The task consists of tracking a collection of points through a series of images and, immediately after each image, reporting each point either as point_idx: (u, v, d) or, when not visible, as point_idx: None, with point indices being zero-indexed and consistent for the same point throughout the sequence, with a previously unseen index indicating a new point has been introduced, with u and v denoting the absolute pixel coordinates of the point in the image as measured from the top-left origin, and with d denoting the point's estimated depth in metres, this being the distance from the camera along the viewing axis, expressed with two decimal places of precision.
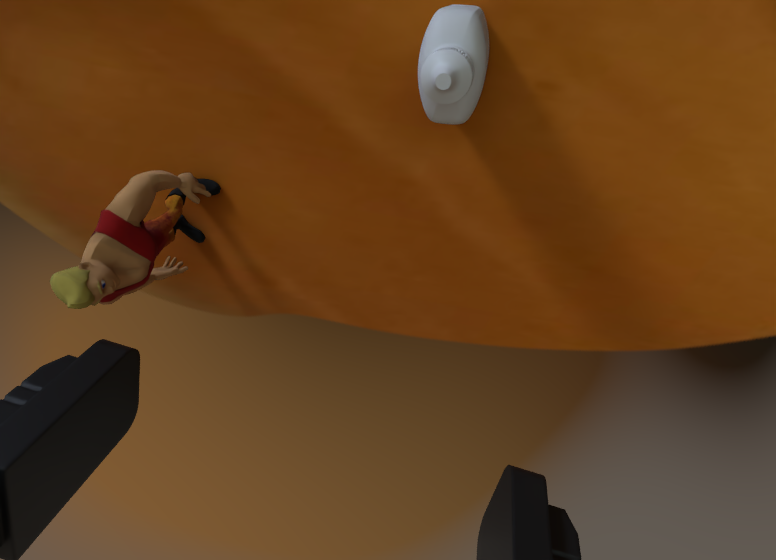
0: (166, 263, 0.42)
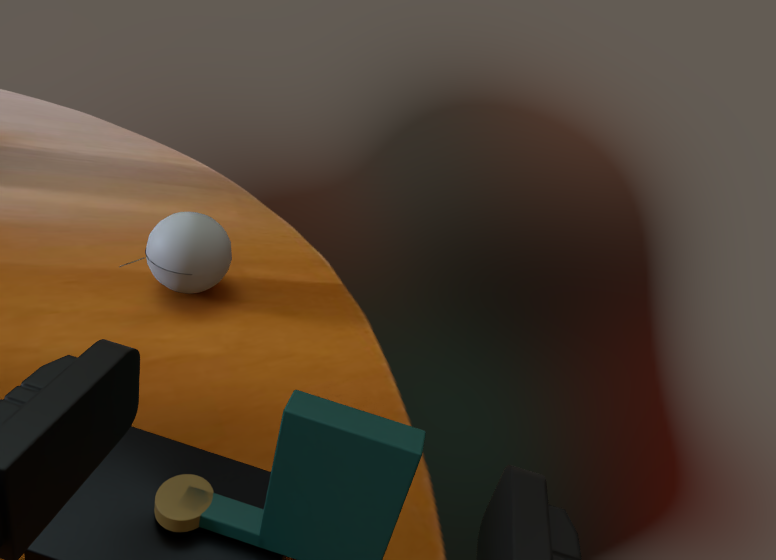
0: None
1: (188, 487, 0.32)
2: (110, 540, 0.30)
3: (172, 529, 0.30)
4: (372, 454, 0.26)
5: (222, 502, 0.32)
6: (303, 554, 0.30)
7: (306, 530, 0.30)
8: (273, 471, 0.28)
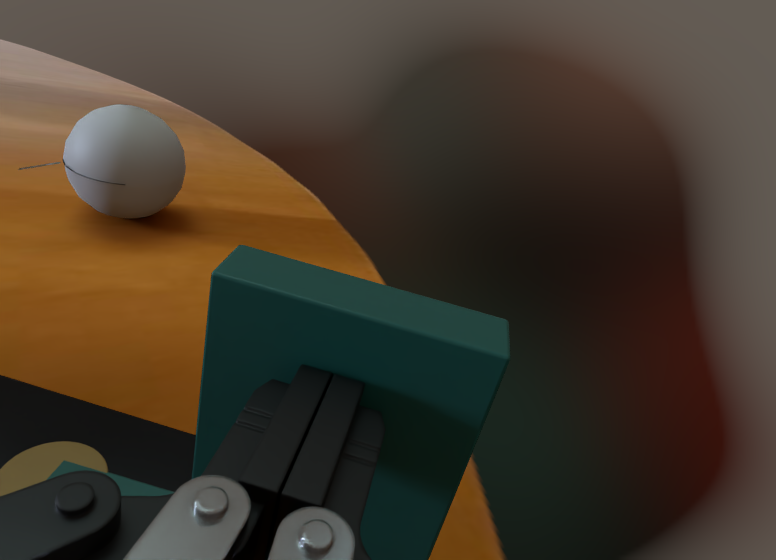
0: None
1: (61, 463, 0.18)
2: None
3: None
4: (403, 364, 0.12)
5: (122, 487, 0.17)
6: None
7: None
8: (201, 415, 0.14)
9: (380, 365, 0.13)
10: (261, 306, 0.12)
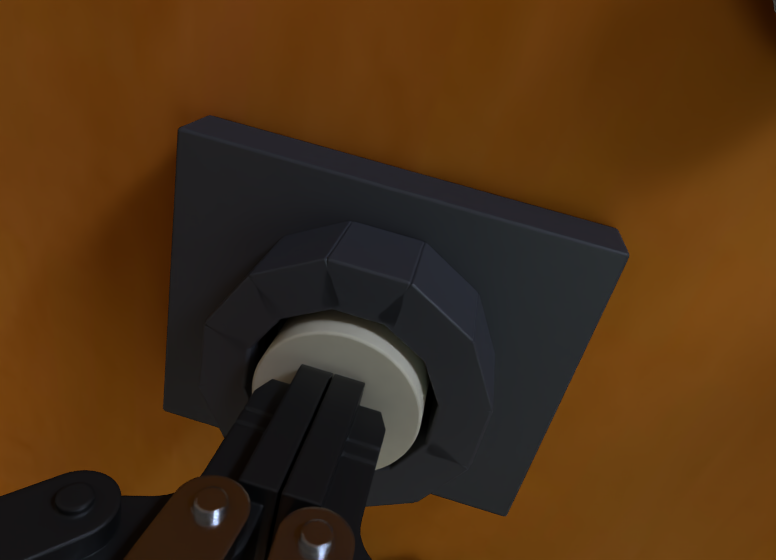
0: None
1: None
2: None
3: None
4: None
5: None
6: None
7: None
8: None
9: None
10: None
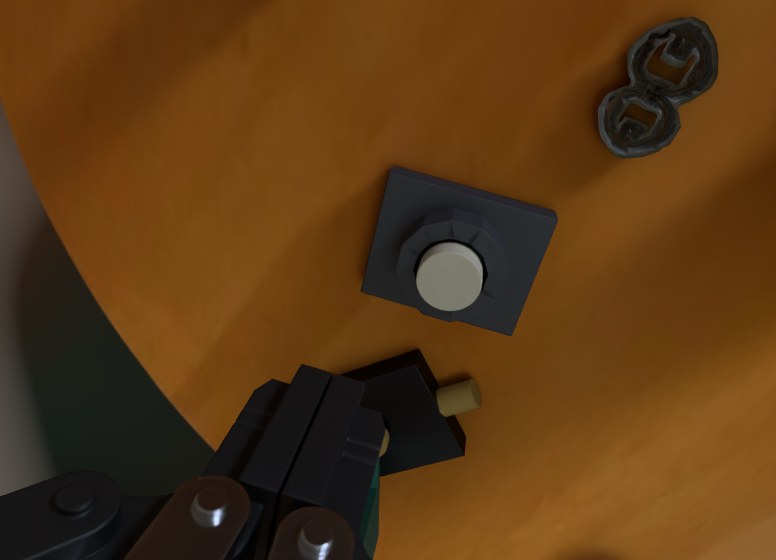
0: None
1: None
2: (384, 396, 0.44)
3: None
4: None
5: None
6: None
7: None
8: None
9: None
10: None
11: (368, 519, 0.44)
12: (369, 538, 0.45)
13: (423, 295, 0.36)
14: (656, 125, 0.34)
